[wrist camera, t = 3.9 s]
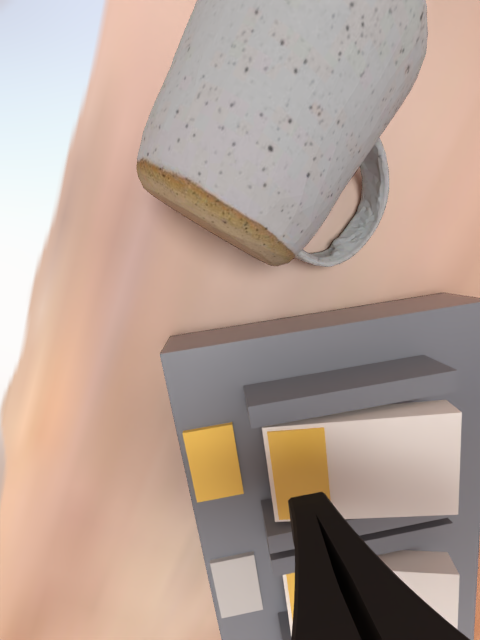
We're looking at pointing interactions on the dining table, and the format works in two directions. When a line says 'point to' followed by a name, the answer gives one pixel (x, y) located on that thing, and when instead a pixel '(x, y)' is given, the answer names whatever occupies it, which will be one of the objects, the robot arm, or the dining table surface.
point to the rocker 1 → (370, 460)
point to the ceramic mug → (282, 119)
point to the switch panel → (308, 402)
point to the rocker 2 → (413, 580)
